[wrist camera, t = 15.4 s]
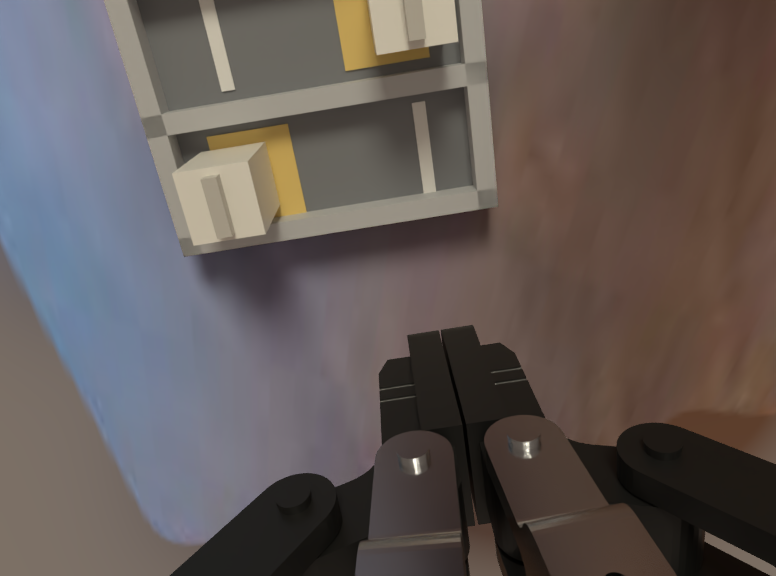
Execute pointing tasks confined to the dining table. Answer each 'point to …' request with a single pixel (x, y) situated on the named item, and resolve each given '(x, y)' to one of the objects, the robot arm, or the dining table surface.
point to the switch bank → (313, 109)
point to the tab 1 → (227, 193)
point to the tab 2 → (411, 24)
